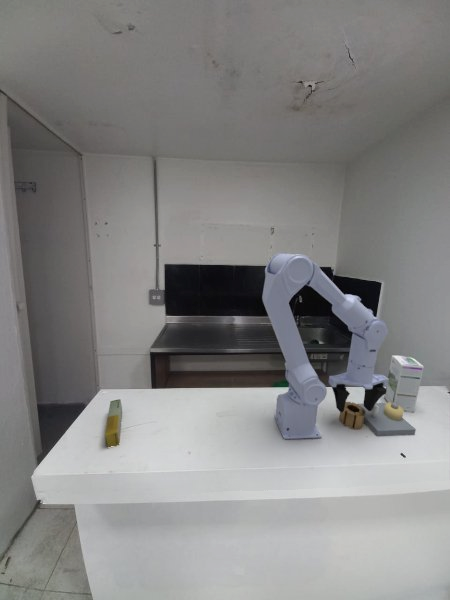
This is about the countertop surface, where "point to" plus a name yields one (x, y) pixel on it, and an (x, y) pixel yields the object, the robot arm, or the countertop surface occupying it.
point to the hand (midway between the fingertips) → (353, 409)
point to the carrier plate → (387, 420)
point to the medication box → (114, 424)
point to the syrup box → (404, 382)
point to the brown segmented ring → (352, 416)
